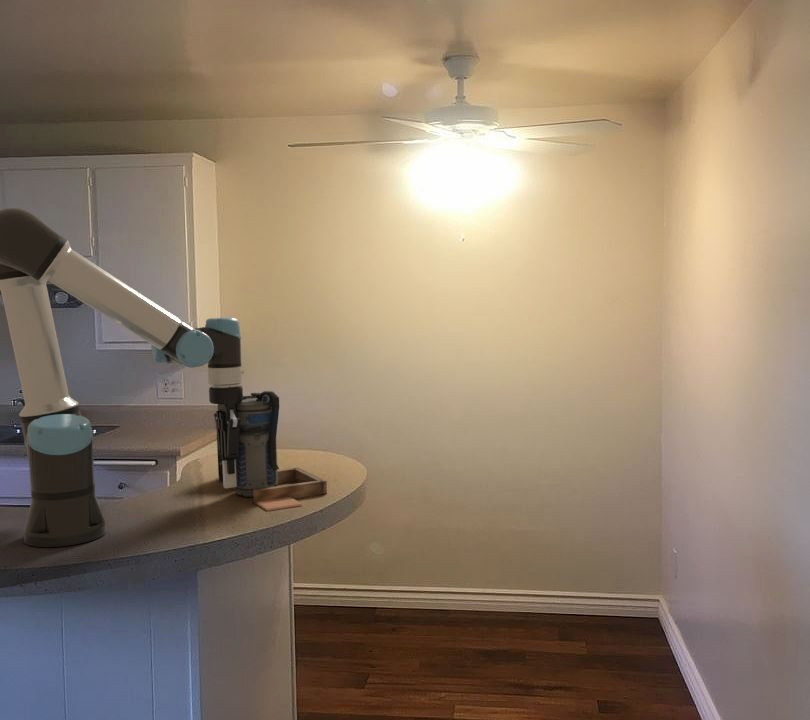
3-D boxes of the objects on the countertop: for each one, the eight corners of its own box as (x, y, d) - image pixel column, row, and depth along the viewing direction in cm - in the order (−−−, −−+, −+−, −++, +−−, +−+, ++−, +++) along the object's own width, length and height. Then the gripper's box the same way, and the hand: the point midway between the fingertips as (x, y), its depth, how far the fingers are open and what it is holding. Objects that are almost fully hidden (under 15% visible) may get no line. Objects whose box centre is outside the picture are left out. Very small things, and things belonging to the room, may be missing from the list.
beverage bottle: (265, 501, 187) (261, 391, 185) (223, 495, 194) (218, 389, 192) (294, 491, 195) (291, 386, 193) (253, 486, 203) (249, 384, 200)
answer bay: (255, 504, 185) (255, 491, 185) (231, 488, 201) (231, 476, 200) (326, 493, 193) (326, 480, 193) (298, 479, 209) (298, 467, 209)
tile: (267, 511, 179) (266, 508, 179) (255, 503, 186) (255, 500, 186) (301, 505, 183) (301, 503, 183) (288, 498, 190) (288, 496, 190)
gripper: (250, 386, 185) (254, 490, 187) (233, 381, 197) (237, 479, 199) (217, 389, 182) (222, 495, 184) (201, 384, 193) (206, 483, 195)
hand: (230, 486), depth 191 cm, fingers closed
